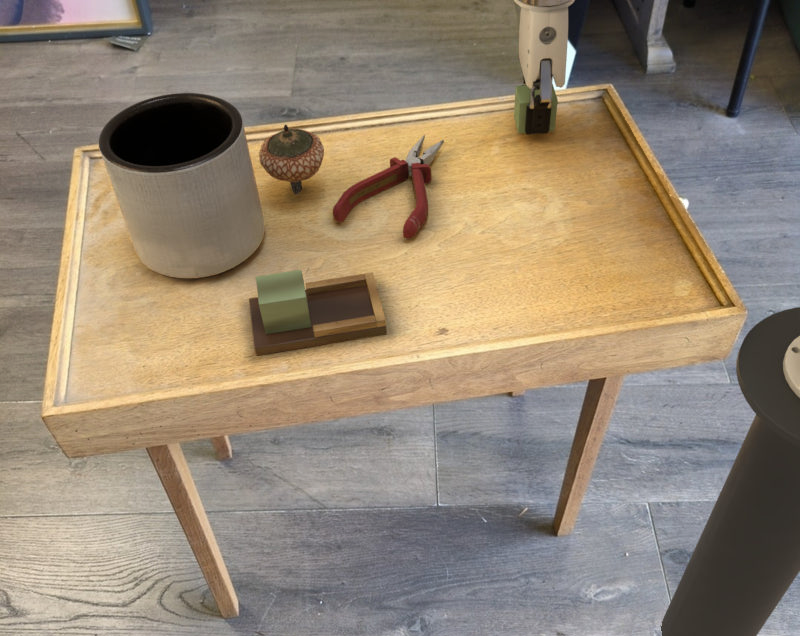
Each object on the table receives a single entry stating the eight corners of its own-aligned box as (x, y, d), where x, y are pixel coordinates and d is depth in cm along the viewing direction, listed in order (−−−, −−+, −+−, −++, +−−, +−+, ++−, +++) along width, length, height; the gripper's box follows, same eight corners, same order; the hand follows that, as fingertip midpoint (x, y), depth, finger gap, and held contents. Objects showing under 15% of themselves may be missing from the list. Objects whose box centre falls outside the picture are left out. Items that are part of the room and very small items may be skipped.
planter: (121, 227, 106) (80, 116, 94) (239, 187, 110) (214, 76, 98) (159, 302, 96) (119, 189, 84) (287, 255, 101) (265, 142, 89)
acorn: (296, 166, 112) (285, 98, 105) (342, 188, 109) (334, 119, 101) (253, 196, 108) (238, 128, 101) (299, 220, 105) (288, 150, 97)
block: (513, 116, 116) (515, 85, 112) (549, 113, 116) (552, 83, 112) (517, 133, 113) (519, 103, 110) (554, 131, 113) (557, 100, 109)
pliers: (473, 154, 112) (473, 137, 110) (413, 244, 101) (413, 227, 99) (395, 138, 116) (394, 121, 114) (329, 223, 104) (327, 206, 102)
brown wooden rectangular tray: (387, 334, 91) (384, 295, 87) (256, 355, 90) (246, 318, 86) (374, 286, 96) (371, 247, 92) (250, 306, 95) (241, 267, 91)
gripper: (588, 15, 95) (571, 155, 109) (564, -46, 106) (552, 89, 120) (522, 19, 95) (514, 159, 109) (505, -42, 106) (499, 92, 120)
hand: (534, 121), depth 114 cm, fingers closed on block, 4 cm apart
